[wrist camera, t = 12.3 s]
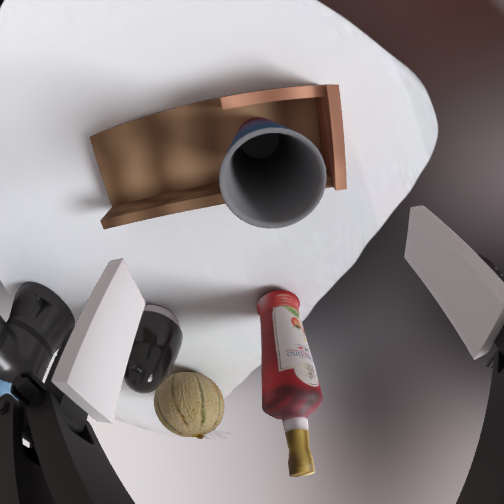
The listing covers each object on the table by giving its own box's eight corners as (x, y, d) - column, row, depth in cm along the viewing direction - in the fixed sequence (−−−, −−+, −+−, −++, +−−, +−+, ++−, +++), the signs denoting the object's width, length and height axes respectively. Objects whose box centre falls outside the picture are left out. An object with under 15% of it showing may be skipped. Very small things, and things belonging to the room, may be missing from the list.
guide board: (120, 208, 36) (100, 233, 30) (96, 133, 30) (68, 146, 24) (328, 169, 34) (346, 189, 28) (319, 84, 28) (338, 84, 22)
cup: (224, 113, 28) (211, 134, 15) (286, 107, 28) (325, 124, 15) (232, 170, 32) (227, 234, 19) (291, 164, 32) (326, 223, 19)
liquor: (308, 294, 45) (350, 464, 22) (281, 322, 48) (304, 480, 25) (272, 276, 43) (299, 465, 19) (246, 306, 46) (253, 479, 22)
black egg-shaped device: (182, 296, 44) (167, 375, 32) (187, 337, 50) (178, 409, 37) (124, 292, 44) (95, 365, 31) (136, 333, 49) (117, 400, 36)
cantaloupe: (151, 357, 53) (138, 419, 41) (220, 358, 54) (219, 425, 41) (169, 391, 61) (162, 444, 49) (228, 392, 62) (227, 448, 49)
